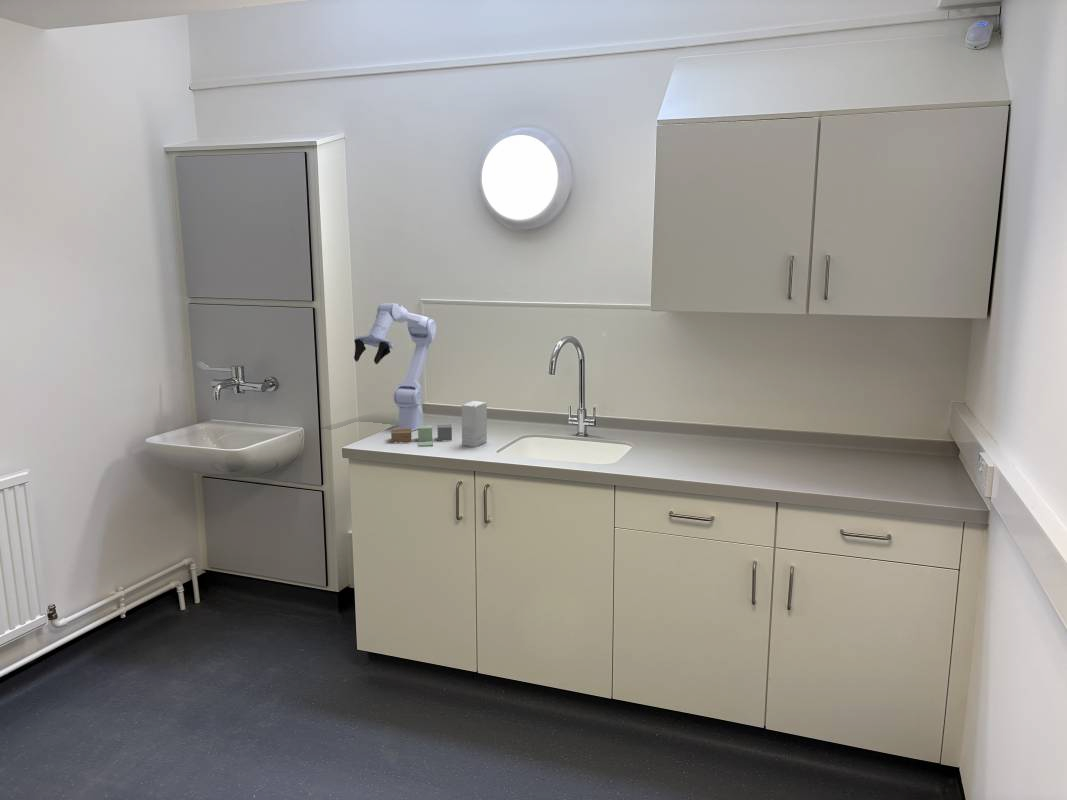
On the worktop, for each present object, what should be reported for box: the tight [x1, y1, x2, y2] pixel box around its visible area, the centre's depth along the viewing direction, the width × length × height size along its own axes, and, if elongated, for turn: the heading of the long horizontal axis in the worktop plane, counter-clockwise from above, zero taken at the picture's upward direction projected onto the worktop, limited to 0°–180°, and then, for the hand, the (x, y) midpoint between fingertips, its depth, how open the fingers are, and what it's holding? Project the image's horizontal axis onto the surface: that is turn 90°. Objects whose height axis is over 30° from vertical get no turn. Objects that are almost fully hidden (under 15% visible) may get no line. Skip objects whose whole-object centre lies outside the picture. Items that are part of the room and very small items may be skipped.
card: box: [418, 440, 434, 447], centre depth 275 cm, size 5×5×1 cm
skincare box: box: [461, 400, 488, 448], centre depth 275 cm, size 8×6×15 cm
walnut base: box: [390, 428, 413, 444], centre depth 281 cm, size 7×7×4 cm
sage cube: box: [417, 424, 433, 442], centre depth 282 cm, size 5×5×5 cm
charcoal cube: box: [436, 424, 453, 442], centre depth 283 cm, size 5×5×5 cm
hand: (365, 361), depth 269 cm, fingers open, 7 cm apart
